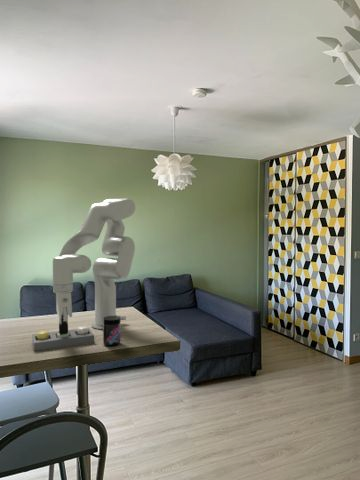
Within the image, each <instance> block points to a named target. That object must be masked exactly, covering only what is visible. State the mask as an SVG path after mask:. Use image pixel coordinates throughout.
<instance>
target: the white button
mask: <svg viewBox="0 0 360 480" xmlns="http://www.w3.org/2000/svg"><path fill="white" fill-rule="evenodd" d="M88 328H89V327H88V326H78V327H76V329H77V335H83V334H88Z"/></svg>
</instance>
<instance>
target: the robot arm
mask: <svg viewBox="0 0 360 480" xmlns="http://www.w3.org/2000/svg"><path fill="white" fill-rule="evenodd" d="M135 212H136V203H135V202H134V200H133V199H132V198H130V197H129V198H128V197H127V198H126V197H125V198H124V197H123V198H120V197H119V198H108V199H104V200H103V201H102V202H97V203H93V204H92V205H91V206H90V207H89V210H88V212H87V215H86V216H85V219H84V221H83V224H82V226H81V228H80V229H79V231H78V232H76V233H75V234H74V235H72V236H71V237H70V238H69V239H68V240H67V241H66V242H65V244H64V245H63V247H62V248H61V250H60V253H59V254H58V256H55V257H53V258H52V293H54V294H55V303H56V304H55V307H56V314H57V317H58V318H59V319H58V331H59V333H60V334H67V333H68V330H69V322H68V321H69V320H68V319H69V317H70V318H72V317H73V307H72V306H73V302H72V292H73V291H74V275H73V274H83V273H87V272H88V271H89V270H90V269H91V268H92V273H93V279H94V280H93V281H94V321H93V322H92V323H91V327H92V328H93V329H98V330H103V318H104V317H106V316H119V317H121V321H126V320H127V316H126V315H117V307H116V306H117V285H116V284H115V281H114V280H117V281H121V280H125V279H127V277H128V276H129V275H130V271H131V267H132V264H133V260H134V255H135V251H136V246H135V240H134V239H133V238H132V237H130V236H125V235H124V234H125V230H126V228H125V224H124V222H123V220H125V219H128V218H130V217H131V216H133V215H134V214H135ZM105 224H106V230H105V233H104V238H103V242H102V244H101V251H102V254H103V255H105V256H108V257H99V258H97V259H95V261H93V264H92V261H91V259H90V257H89V256H87V255H85V254H78V253H77V252H78V251H79V250H81V249H82V248H83V247H84V246H87V245H89V244H92V243H94V242H95V241H97V240H98V239H100V236H101V233H102V231H103V228H104V226H105ZM115 257H116V258H115Z"/></svg>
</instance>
